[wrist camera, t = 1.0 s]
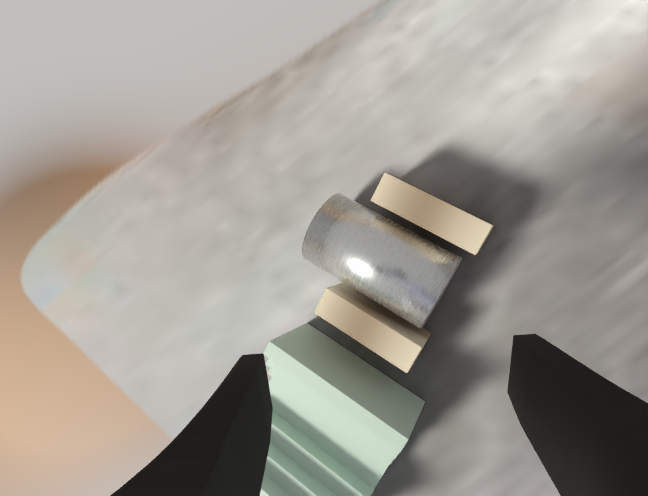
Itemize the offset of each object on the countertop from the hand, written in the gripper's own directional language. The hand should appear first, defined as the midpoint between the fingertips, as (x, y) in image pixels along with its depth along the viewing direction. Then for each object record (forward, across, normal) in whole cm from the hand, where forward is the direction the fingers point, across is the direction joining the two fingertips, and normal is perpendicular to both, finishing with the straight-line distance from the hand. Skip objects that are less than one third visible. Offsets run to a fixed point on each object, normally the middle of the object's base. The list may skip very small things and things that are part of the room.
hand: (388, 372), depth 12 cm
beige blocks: (+11, -3, +2) cm, 12 cm away
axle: (+12, -2, +2) cm, 12 cm away
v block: (+10, +2, +11) cm, 15 cm away
